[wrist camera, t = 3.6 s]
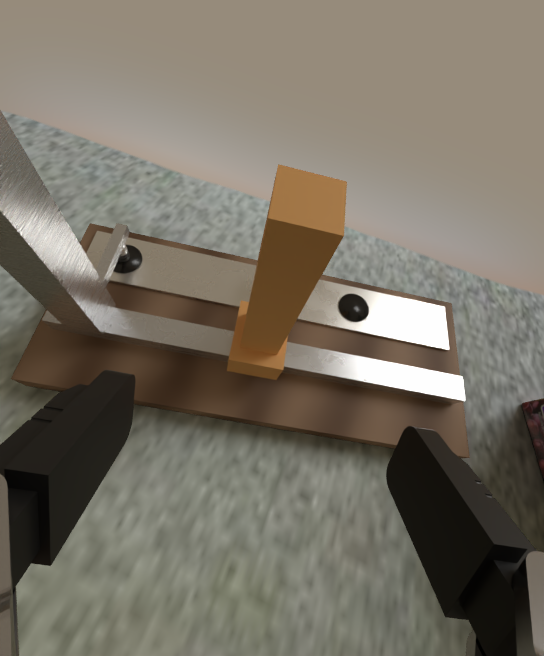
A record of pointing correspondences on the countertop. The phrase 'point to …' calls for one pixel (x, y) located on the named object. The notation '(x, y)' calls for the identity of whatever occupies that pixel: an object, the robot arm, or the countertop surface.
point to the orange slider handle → (287, 267)
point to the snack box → (536, 427)
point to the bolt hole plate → (236, 284)
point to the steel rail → (138, 328)
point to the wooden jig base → (245, 390)
